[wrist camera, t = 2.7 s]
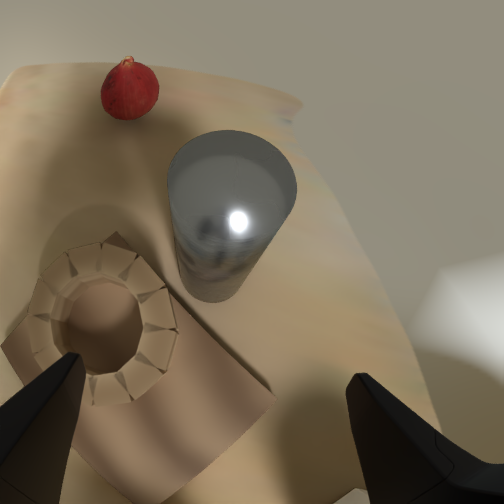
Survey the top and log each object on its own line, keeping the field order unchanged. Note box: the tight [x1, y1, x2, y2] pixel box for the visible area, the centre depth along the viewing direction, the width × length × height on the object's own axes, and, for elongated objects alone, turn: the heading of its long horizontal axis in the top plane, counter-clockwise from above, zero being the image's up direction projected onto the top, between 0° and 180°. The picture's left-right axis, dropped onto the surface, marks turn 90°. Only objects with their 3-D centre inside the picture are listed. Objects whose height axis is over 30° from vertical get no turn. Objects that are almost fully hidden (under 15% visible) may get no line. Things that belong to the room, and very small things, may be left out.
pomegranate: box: [101, 56, 159, 120], centre depth 23 cm, size 6×6×8 cm
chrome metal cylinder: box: [167, 130, 297, 303], centre depth 17 cm, size 5×5×13 cm
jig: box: [1, 231, 278, 504], centre depth 17 cm, size 15×18×4 cm
